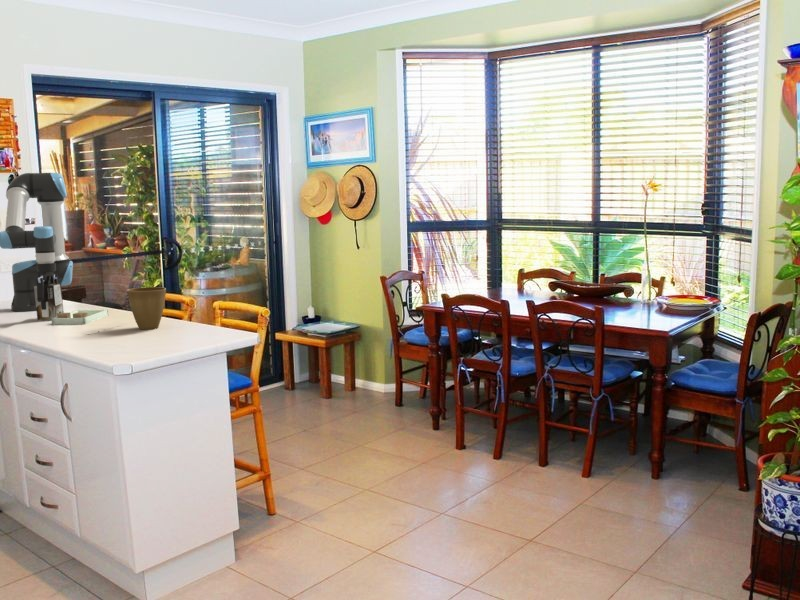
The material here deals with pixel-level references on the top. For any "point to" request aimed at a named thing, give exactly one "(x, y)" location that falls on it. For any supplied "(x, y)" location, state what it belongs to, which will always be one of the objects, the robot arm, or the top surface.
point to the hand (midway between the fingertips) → (50, 315)
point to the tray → (91, 317)
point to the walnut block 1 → (63, 315)
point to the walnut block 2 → (80, 315)
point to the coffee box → (51, 302)
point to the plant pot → (147, 305)
